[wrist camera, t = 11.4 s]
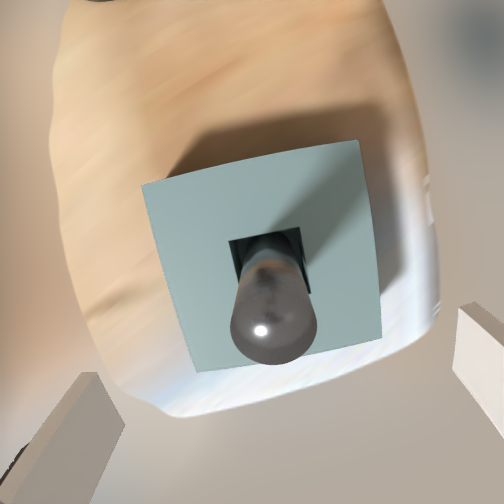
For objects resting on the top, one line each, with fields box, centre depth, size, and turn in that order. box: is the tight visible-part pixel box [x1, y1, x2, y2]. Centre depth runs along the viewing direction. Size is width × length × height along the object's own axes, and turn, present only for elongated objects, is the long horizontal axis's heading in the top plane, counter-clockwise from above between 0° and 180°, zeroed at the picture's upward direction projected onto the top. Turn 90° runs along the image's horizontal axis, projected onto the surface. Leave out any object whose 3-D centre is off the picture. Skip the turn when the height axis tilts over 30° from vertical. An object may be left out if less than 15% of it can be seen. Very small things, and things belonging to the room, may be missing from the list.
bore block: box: [141, 139, 382, 372], centre depth 26 cm, size 16×16×6 cm
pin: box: [230, 231, 317, 365], centre depth 21 cm, size 4×4×14 cm
